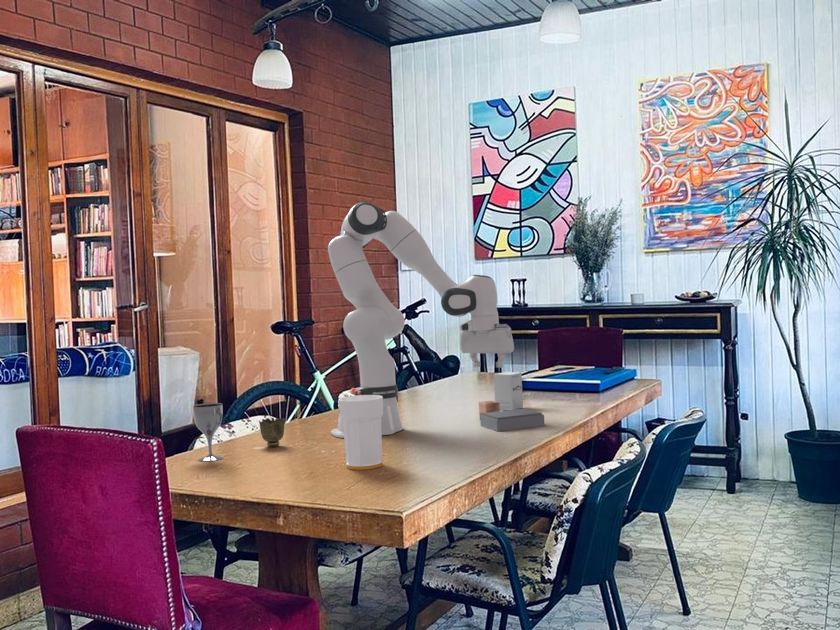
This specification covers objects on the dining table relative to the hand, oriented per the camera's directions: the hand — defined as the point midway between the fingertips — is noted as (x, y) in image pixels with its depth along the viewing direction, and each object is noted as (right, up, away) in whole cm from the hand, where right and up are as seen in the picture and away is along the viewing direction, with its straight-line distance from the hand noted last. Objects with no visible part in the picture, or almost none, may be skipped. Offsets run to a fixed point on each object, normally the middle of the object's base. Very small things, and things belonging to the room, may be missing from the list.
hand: (488, 367), depth 278 cm
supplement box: (+9, -16, +23) cm, 30 cm away
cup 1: (-65, -22, -26) cm, 73 cm away
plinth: (+6, -17, -12) cm, 22 cm away
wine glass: (-80, -23, -40) cm, 92 cm away
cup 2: (-36, -22, -60) cm, 73 cm away
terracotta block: (+1, -17, +1) cm, 17 cm away
